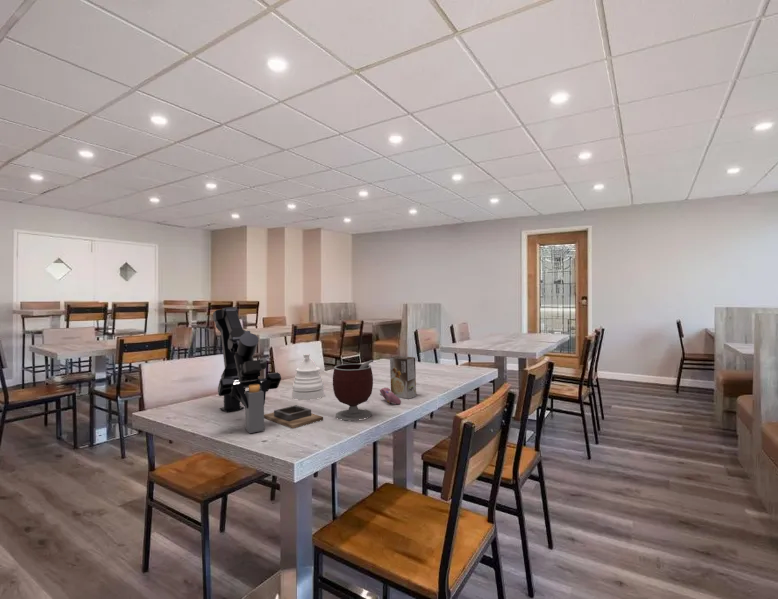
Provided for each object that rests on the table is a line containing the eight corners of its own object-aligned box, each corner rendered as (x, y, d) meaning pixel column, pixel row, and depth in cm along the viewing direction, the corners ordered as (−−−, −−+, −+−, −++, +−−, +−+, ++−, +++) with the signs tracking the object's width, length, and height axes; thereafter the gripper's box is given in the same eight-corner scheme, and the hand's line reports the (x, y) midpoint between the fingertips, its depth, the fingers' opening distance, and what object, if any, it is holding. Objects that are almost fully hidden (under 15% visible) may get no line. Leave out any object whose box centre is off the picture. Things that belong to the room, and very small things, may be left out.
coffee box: (417, 396, 168) (416, 357, 168) (408, 399, 163) (407, 359, 163) (399, 393, 174) (398, 355, 174) (389, 396, 169) (389, 357, 169)
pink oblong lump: (383, 403, 163) (376, 388, 162) (393, 397, 165) (385, 382, 163) (392, 409, 154) (384, 394, 153) (402, 403, 155) (394, 387, 154)
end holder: (263, 417, 141) (263, 409, 141) (292, 410, 150) (292, 402, 150) (292, 428, 128) (292, 419, 128) (323, 419, 137) (323, 410, 137)
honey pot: (320, 400, 164) (319, 355, 163) (288, 400, 164) (288, 356, 164) (326, 393, 176) (325, 351, 176) (296, 393, 177) (296, 351, 177)
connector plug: (245, 429, 127) (244, 384, 127) (260, 426, 130) (259, 382, 130) (249, 433, 124) (248, 387, 124) (264, 430, 126) (263, 385, 126)
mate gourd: (324, 417, 140) (323, 359, 139) (350, 408, 151) (349, 354, 151) (360, 425, 131) (359, 362, 131) (385, 414, 142) (384, 357, 142)
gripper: (219, 353, 125) (227, 396, 116) (278, 348, 135) (291, 387, 126) (214, 374, 131) (222, 417, 122) (271, 368, 142) (283, 407, 133)
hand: (255, 406), depth 126 cm, fingers closed on connector plug, 4 cm apart
